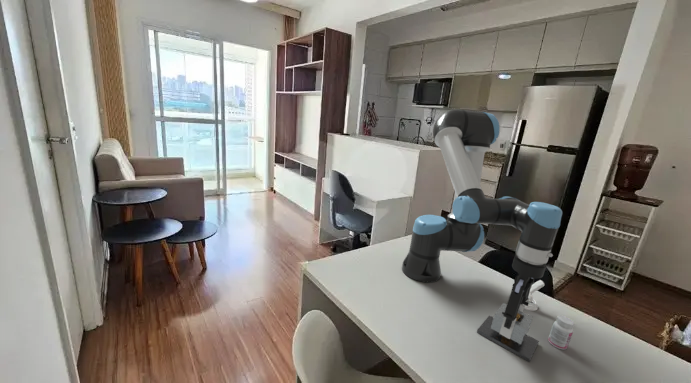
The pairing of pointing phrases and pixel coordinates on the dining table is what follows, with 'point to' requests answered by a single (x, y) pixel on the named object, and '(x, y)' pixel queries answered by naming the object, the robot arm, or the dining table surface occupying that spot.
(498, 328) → the grey square socket block
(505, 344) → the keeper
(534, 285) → the vr controller
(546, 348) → the dining table surface
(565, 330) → the pill bottle
